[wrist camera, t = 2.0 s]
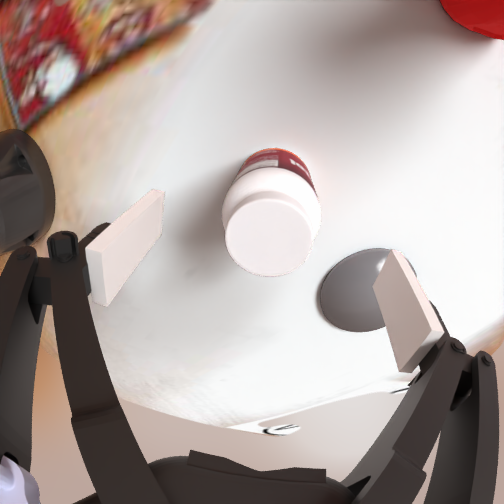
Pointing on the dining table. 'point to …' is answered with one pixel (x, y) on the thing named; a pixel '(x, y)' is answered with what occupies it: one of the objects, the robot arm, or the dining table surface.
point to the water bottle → (478, 15)
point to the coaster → (355, 291)
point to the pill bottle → (271, 213)
